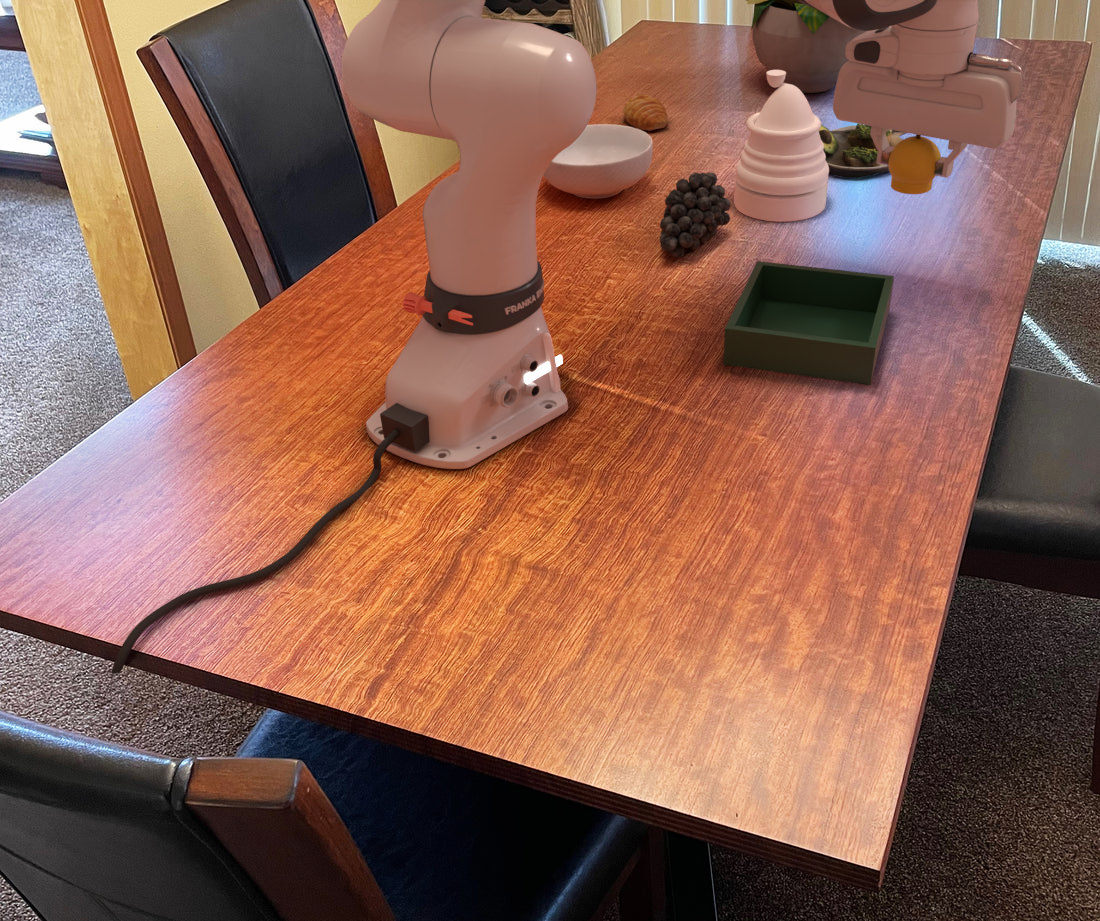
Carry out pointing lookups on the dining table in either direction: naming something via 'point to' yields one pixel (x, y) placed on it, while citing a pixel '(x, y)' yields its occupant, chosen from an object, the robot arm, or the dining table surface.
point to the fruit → (693, 213)
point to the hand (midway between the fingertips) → (913, 169)
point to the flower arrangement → (800, 43)
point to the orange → (913, 165)
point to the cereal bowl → (601, 161)
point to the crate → (809, 322)
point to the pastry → (645, 113)
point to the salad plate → (854, 150)
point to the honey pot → (782, 159)
